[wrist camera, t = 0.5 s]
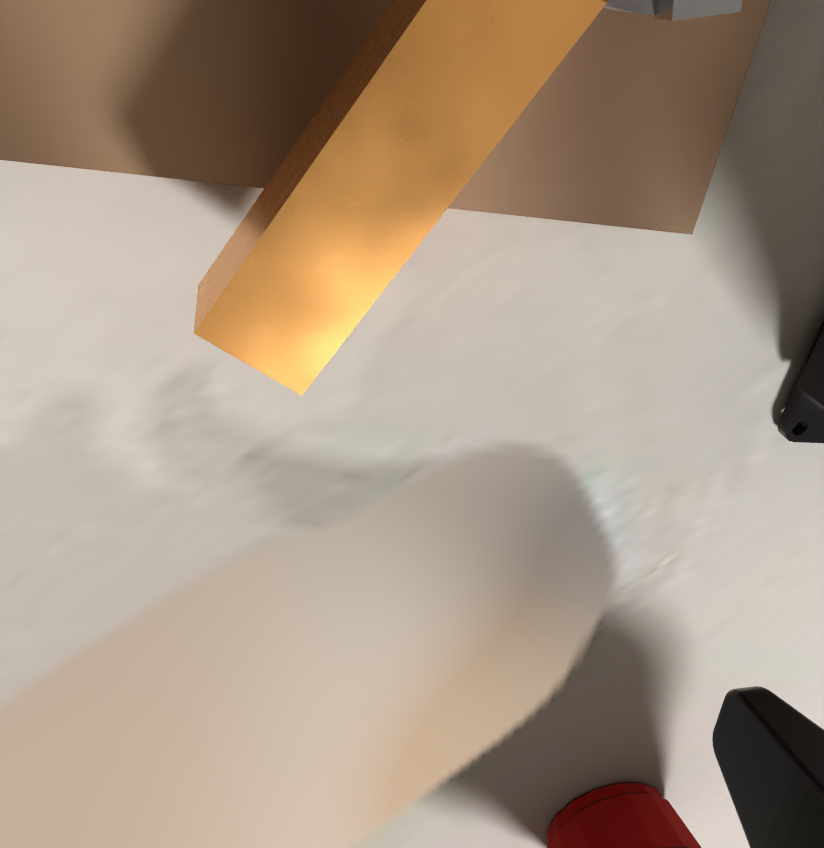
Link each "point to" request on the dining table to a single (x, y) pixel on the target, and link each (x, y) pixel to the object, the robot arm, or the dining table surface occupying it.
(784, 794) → the robot arm
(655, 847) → the plastic cup
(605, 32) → the base plate
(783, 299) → the dining table surface
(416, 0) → the wood-handled metal tool
